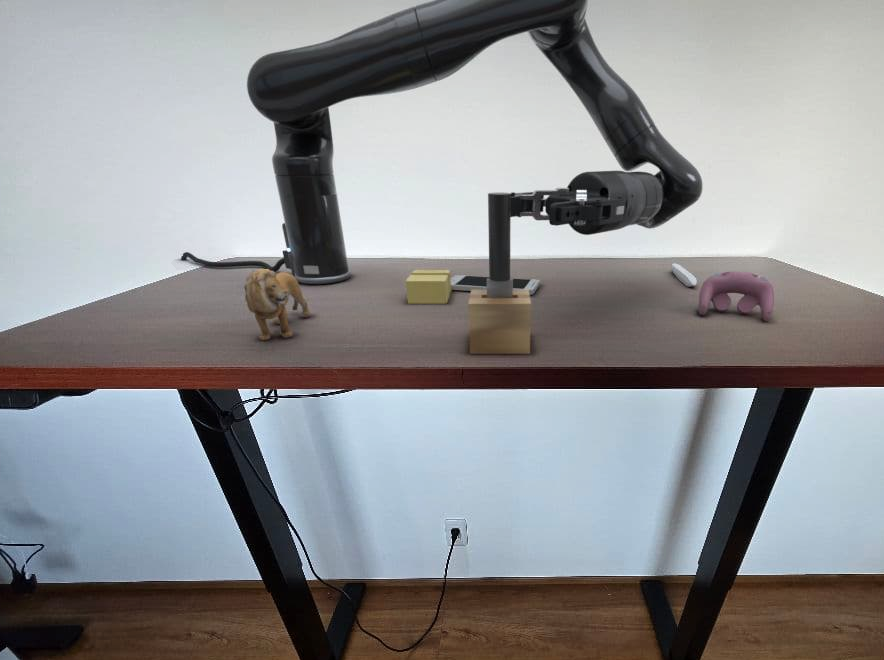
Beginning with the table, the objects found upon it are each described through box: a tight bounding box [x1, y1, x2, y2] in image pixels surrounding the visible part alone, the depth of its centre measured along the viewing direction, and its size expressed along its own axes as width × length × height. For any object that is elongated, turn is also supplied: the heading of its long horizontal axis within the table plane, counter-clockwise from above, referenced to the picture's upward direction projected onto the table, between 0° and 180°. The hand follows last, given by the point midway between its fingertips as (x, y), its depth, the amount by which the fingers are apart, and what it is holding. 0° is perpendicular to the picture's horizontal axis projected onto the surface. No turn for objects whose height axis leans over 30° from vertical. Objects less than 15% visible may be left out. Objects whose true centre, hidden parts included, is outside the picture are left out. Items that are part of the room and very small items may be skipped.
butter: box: [405, 269, 452, 305], centre depth 76 cm, size 6×7×4 cm
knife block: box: [467, 290, 532, 355], centre depth 57 cm, size 7×6×6 cm
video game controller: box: [698, 270, 775, 322], centre depth 69 cm, size 10×5×7 cm, turn 71°
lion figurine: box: [243, 267, 311, 341], centre depth 61 cm, size 15×5×9 cm, turn 13°
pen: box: [670, 263, 698, 287], centre depth 88 cm, size 2×14×2 cm, turn 178°
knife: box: [487, 192, 513, 298], centre depth 55 cm, size 3×2×17 cm
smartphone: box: [451, 274, 541, 296], centre depth 82 cm, size 7×16×1 cm, turn 77°
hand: (523, 211), depth 54 cm, fingers open, 8 cm apart
